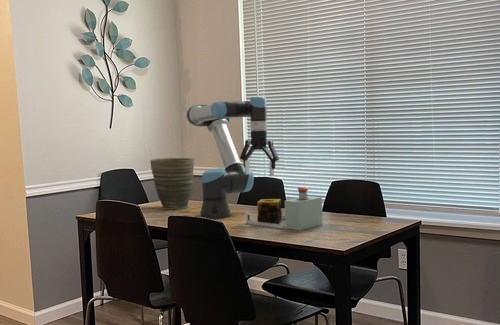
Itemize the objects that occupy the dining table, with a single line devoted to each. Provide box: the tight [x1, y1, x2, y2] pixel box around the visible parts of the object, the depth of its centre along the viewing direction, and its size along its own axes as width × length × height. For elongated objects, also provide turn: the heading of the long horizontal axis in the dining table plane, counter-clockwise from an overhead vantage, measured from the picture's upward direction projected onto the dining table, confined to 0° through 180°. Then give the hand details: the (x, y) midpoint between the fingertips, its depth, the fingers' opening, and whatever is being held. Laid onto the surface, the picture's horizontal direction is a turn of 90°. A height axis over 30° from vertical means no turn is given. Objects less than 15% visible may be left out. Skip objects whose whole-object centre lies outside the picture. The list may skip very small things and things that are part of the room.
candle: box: [256, 198, 283, 224], centre depth 261 cm, size 10×10×10 cm
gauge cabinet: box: [284, 195, 323, 231], centre depth 248 cm, size 9×16×12 cm, turn 136°
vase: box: [150, 157, 195, 211], centre depth 314 cm, size 25×24×30 cm
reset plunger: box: [297, 186, 309, 200], centre depth 247 cm, size 4×4×8 cm
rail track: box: [245, 214, 286, 230], centre depth 258 cm, size 22×19×4 cm
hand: (259, 175), depth 267 cm, fingers open, 13 cm apart
